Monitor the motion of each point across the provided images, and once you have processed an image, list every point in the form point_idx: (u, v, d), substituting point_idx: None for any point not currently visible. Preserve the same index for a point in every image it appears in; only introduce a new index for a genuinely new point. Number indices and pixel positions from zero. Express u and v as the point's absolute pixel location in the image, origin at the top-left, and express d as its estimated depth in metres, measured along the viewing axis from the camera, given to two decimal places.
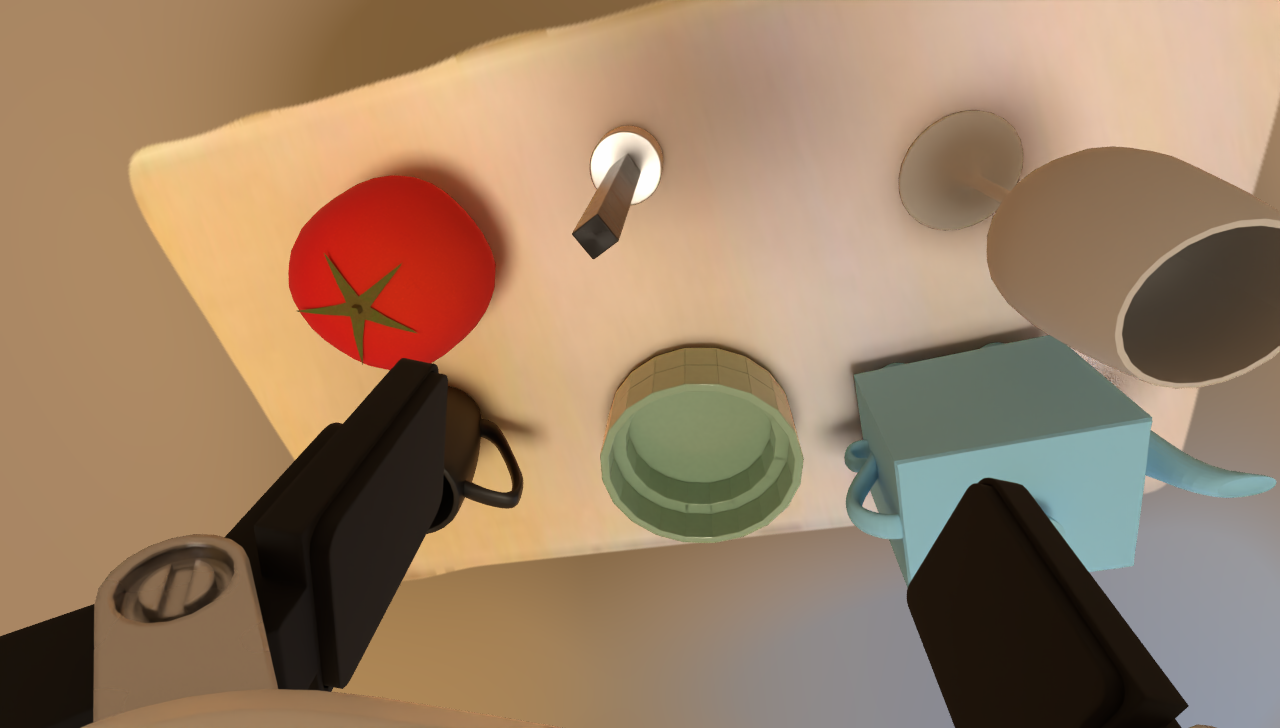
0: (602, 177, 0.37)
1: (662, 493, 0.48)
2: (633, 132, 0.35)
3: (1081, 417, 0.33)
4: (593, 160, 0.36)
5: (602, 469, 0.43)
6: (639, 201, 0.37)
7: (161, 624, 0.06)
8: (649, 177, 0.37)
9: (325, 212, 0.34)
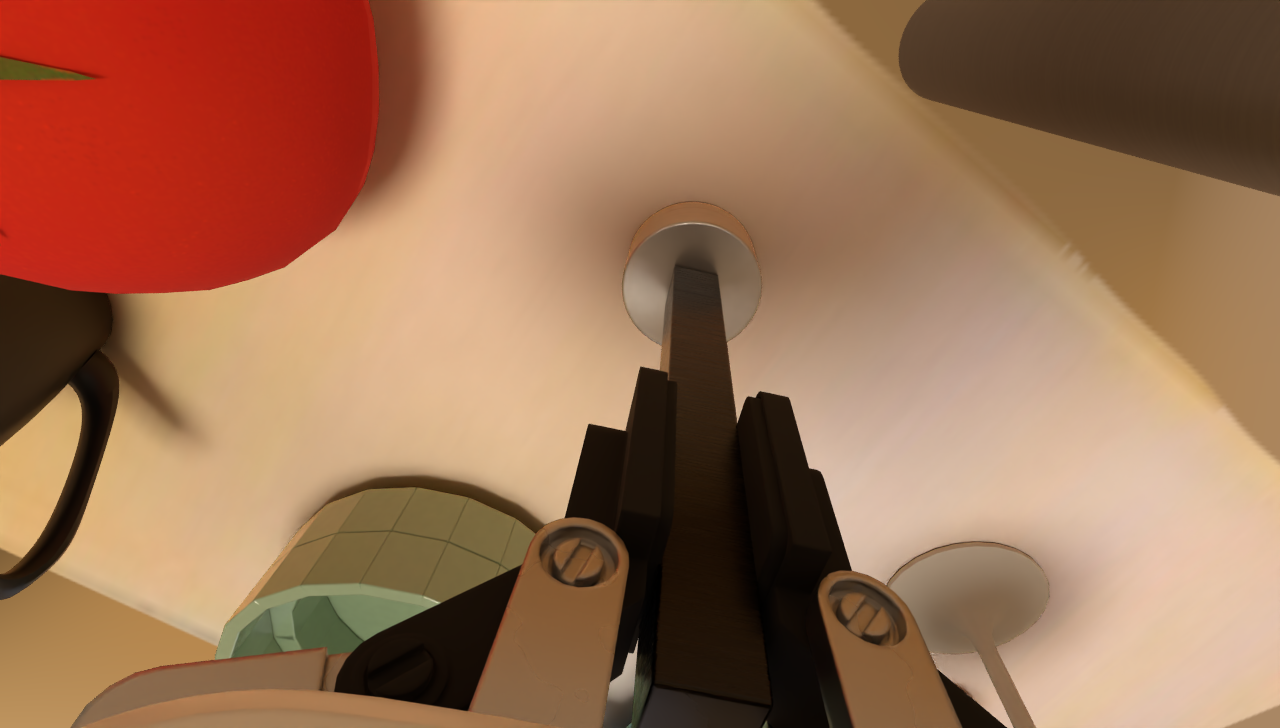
0: (650, 266, 0.19)
1: None
2: (755, 259, 0.18)
3: None
4: (664, 233, 0.18)
5: (239, 615, 0.22)
6: (661, 343, 0.20)
7: (558, 583, 0.07)
8: None
9: None
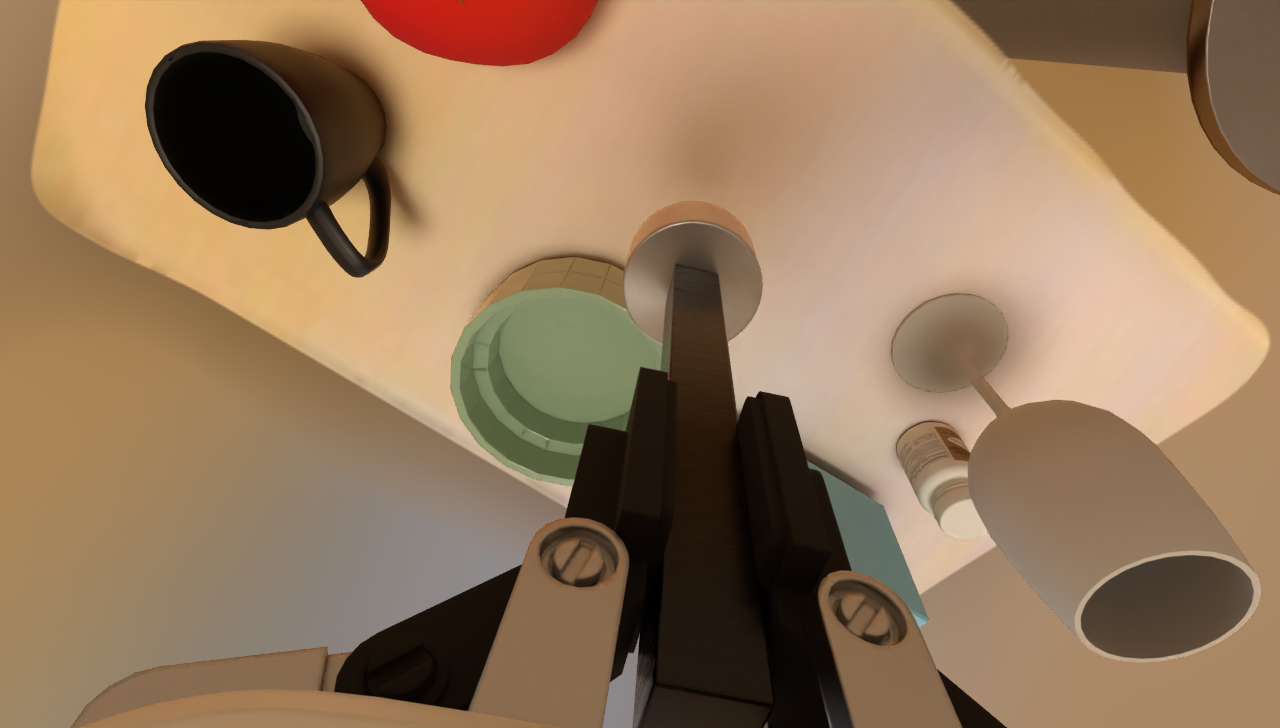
0: (650, 265, 0.19)
1: (493, 385, 0.40)
2: (755, 259, 0.18)
3: (887, 586, 0.36)
4: (664, 232, 0.18)
5: (475, 319, 0.35)
6: (662, 342, 0.20)
7: (558, 583, 0.07)
8: None
9: None
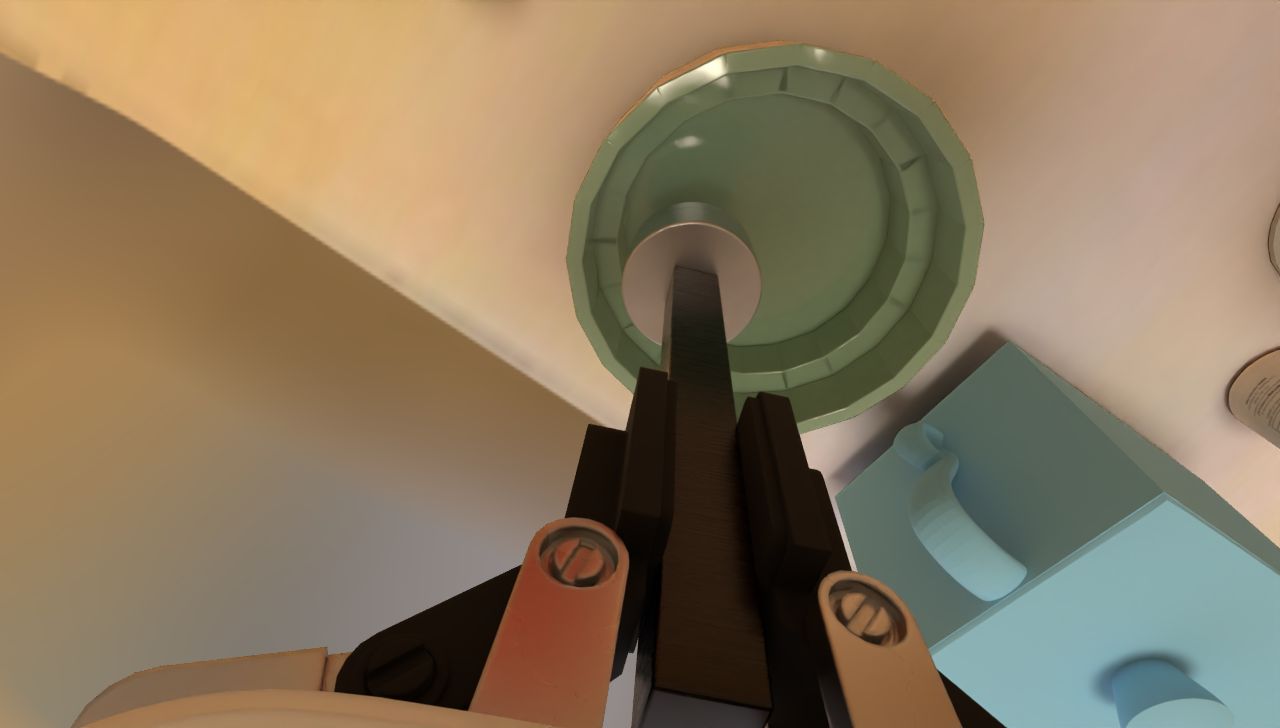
0: (649, 266, 0.18)
1: (622, 270, 0.25)
2: (755, 259, 0.18)
3: None
4: (664, 233, 0.18)
5: (629, 117, 0.19)
6: (661, 343, 0.20)
7: (558, 583, 0.07)
8: None
9: None
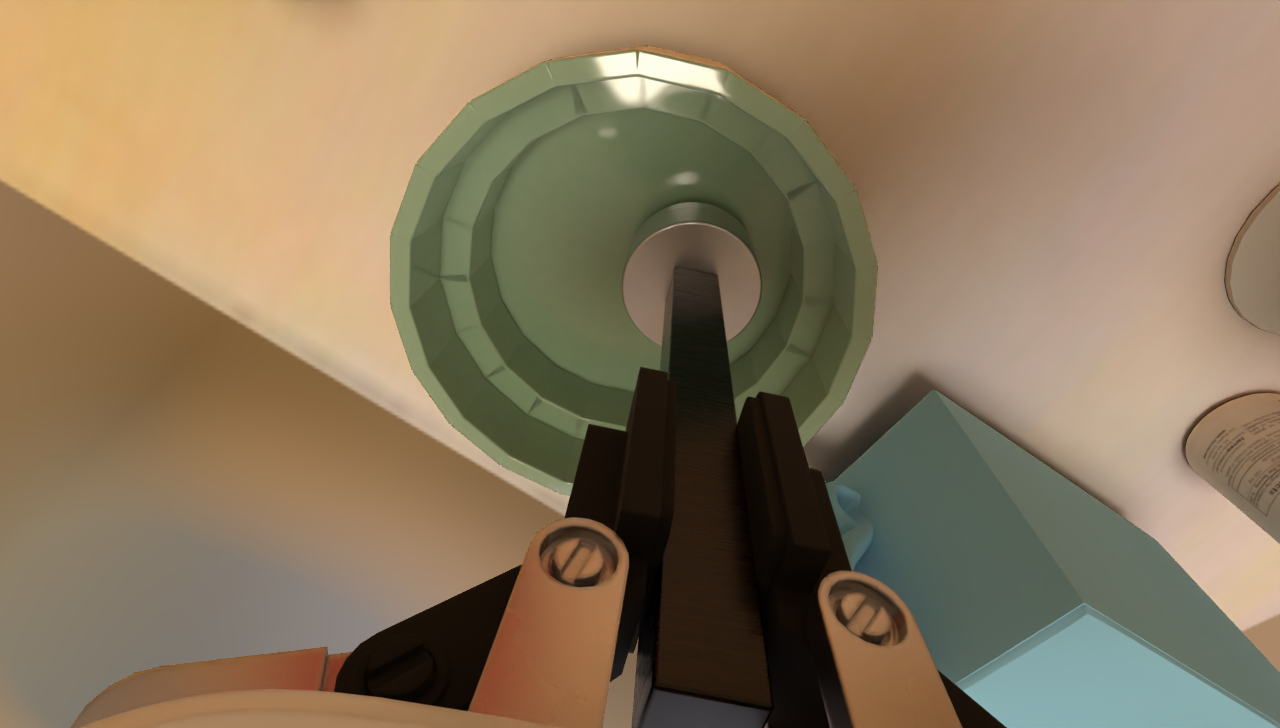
0: (650, 266, 0.19)
1: (480, 311, 0.21)
2: (755, 260, 0.18)
3: None
4: (664, 233, 0.18)
5: (441, 138, 0.16)
6: (661, 343, 0.20)
7: (558, 583, 0.07)
8: None
9: None
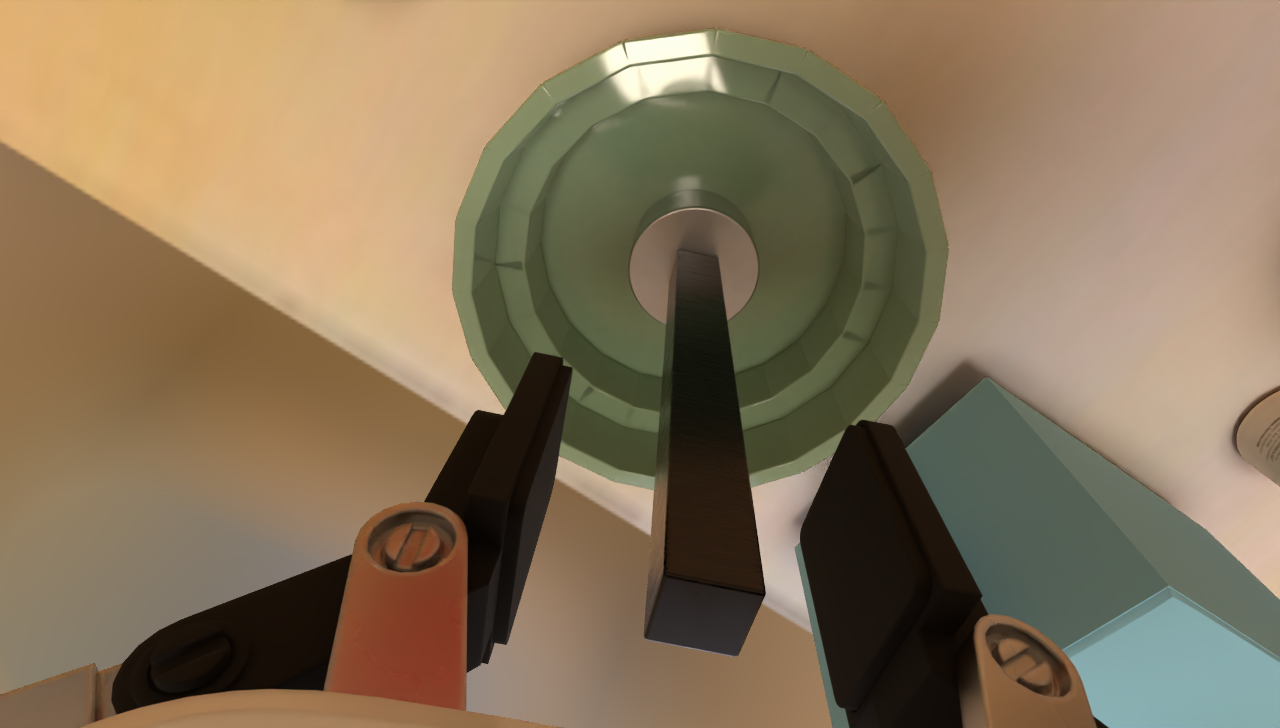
0: (654, 249, 0.20)
1: (534, 299, 0.21)
2: (753, 243, 0.20)
3: None
4: (668, 218, 0.19)
5: (512, 121, 0.16)
6: (665, 322, 0.21)
7: (395, 573, 0.06)
8: None
9: None
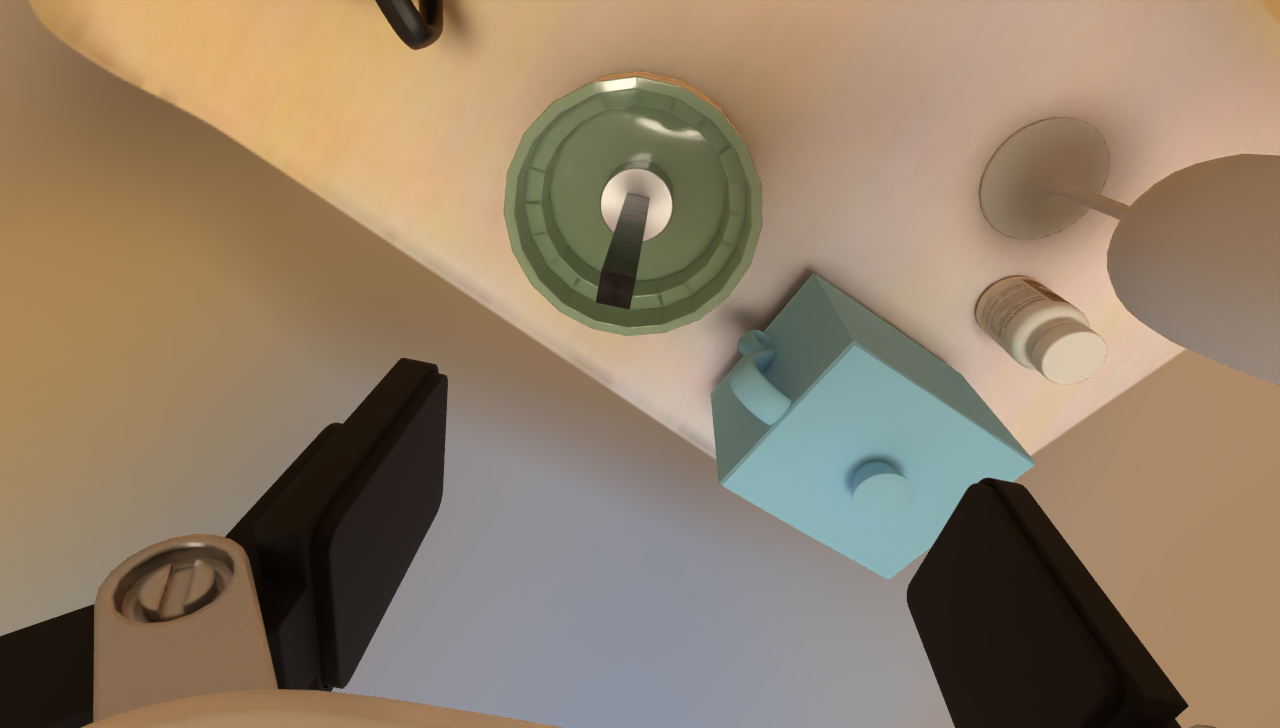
0: (614, 192, 0.35)
1: (546, 223, 0.37)
2: (669, 189, 0.35)
3: (989, 427, 0.33)
4: (621, 174, 0.35)
5: (538, 120, 0.31)
6: None
7: (161, 624, 0.06)
8: (646, 229, 0.36)
9: None
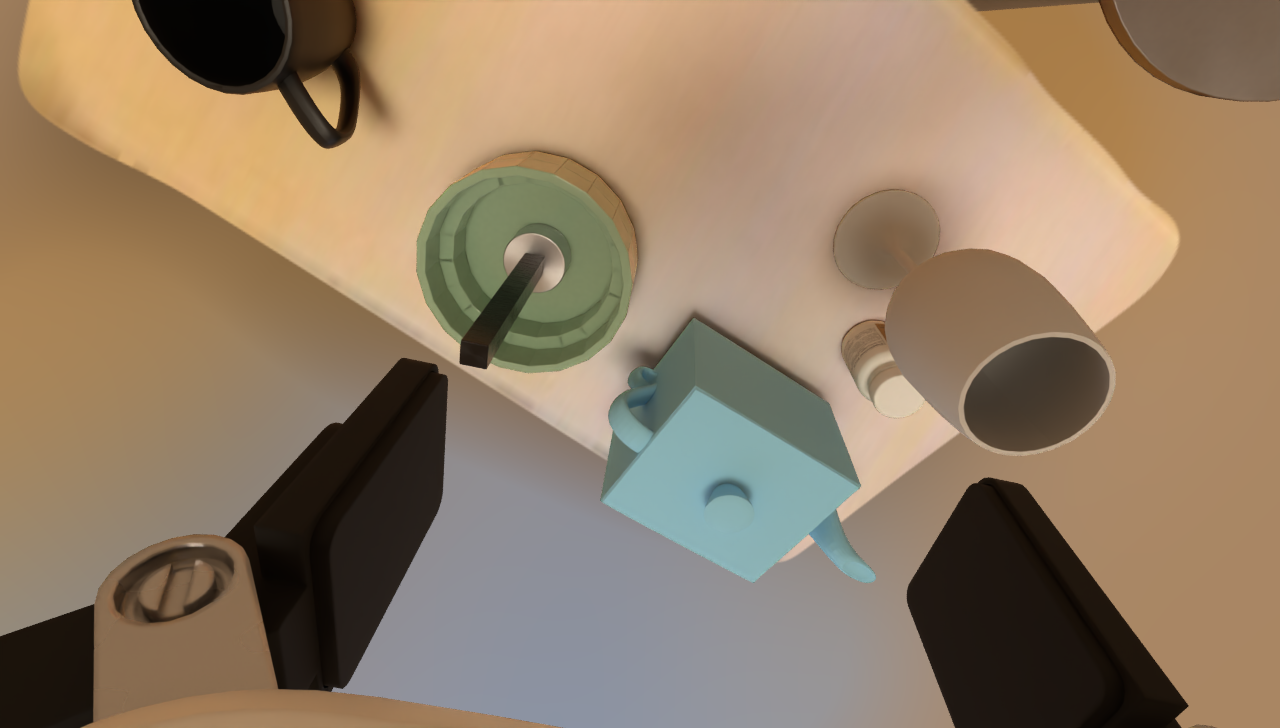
0: (514, 252, 0.42)
1: (459, 277, 0.43)
2: (560, 249, 0.41)
3: (823, 455, 0.39)
4: (519, 238, 0.41)
5: (439, 199, 0.37)
6: None
7: (161, 624, 0.06)
8: (544, 282, 0.43)
9: None
